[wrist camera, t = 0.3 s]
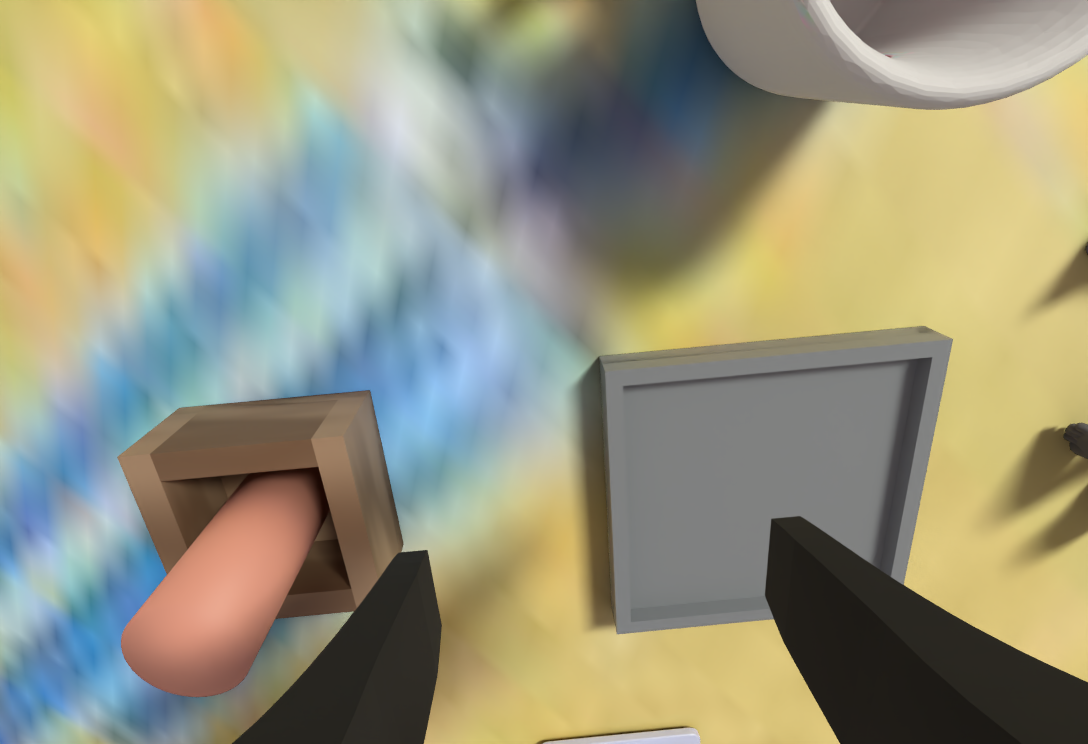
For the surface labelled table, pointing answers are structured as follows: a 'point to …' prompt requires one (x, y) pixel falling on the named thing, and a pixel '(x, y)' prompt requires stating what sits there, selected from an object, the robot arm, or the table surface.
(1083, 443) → the yeti figurine
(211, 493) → the holder
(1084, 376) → the table surface
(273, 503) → the pink rounded capsule
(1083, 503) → the table surface
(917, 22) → the cup
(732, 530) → the tray
